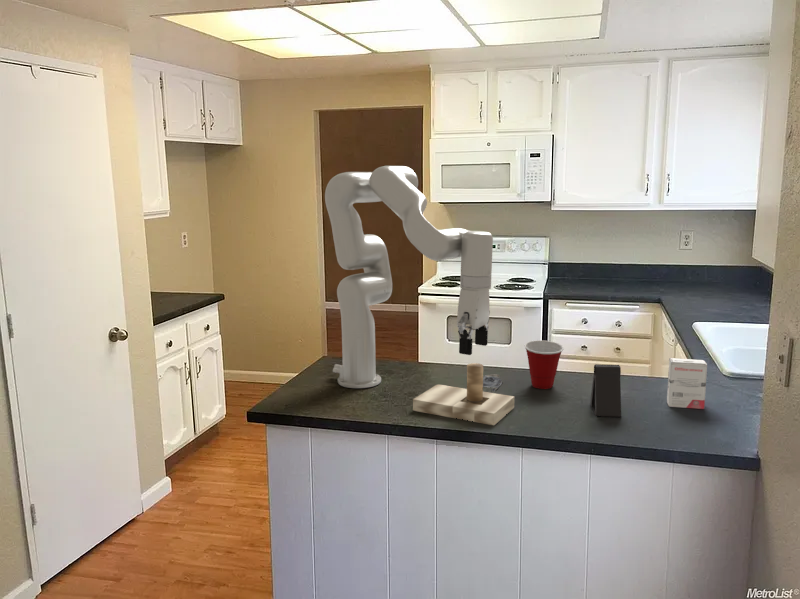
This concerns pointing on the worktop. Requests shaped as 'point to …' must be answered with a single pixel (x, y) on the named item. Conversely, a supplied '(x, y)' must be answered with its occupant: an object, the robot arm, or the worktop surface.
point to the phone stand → (606, 391)
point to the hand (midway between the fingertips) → (473, 349)
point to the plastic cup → (543, 362)
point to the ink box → (686, 383)
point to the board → (463, 404)
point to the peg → (475, 383)
